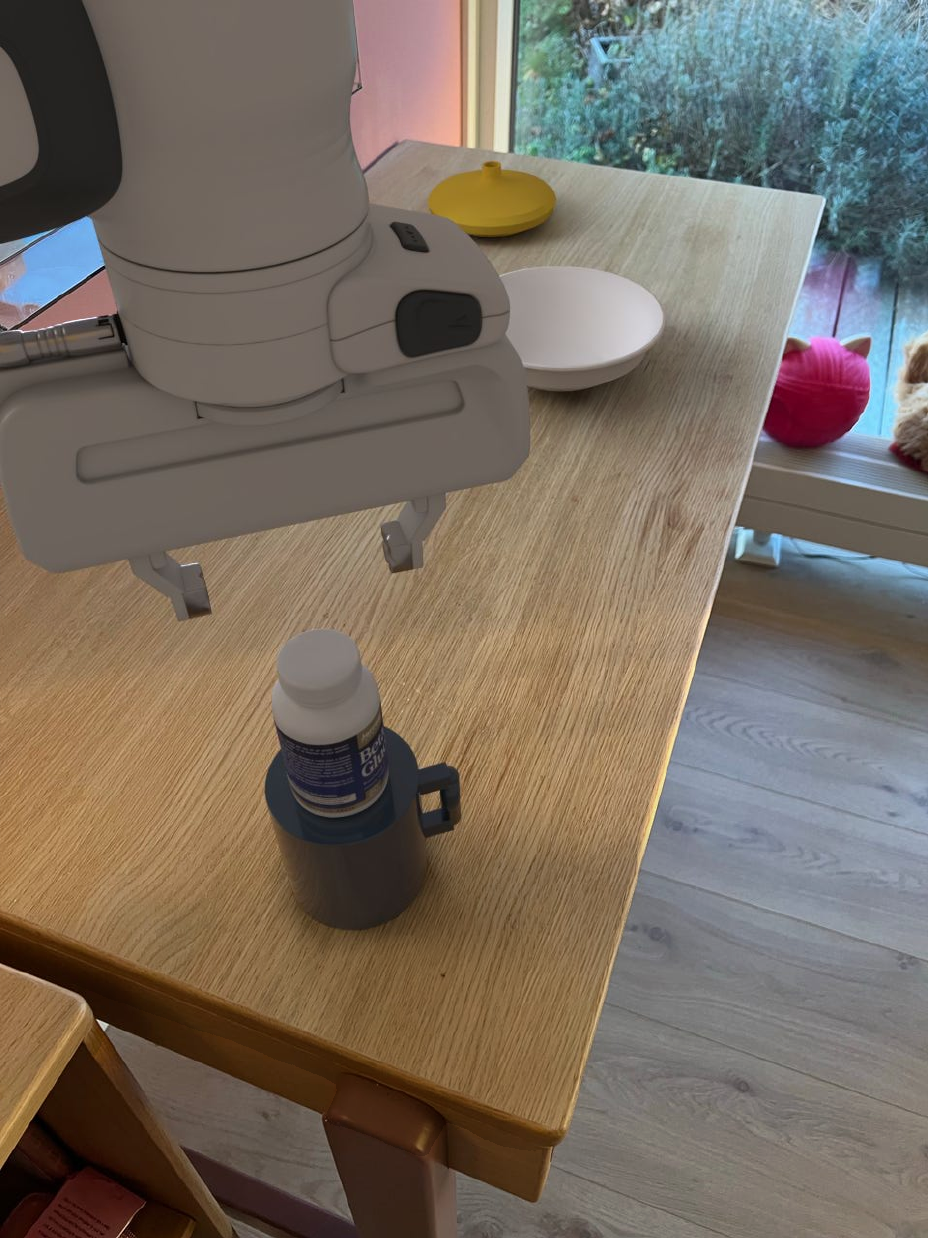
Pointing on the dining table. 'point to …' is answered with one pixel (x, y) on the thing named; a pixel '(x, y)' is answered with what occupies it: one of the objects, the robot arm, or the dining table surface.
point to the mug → (363, 841)
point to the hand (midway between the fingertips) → (300, 585)
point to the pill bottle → (329, 724)
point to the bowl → (579, 325)
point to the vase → (493, 201)
